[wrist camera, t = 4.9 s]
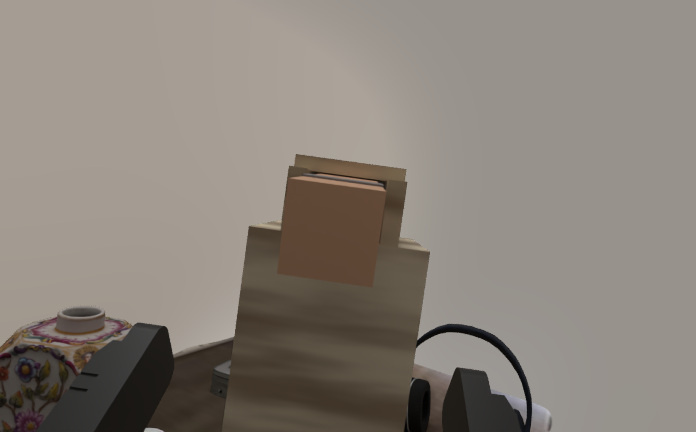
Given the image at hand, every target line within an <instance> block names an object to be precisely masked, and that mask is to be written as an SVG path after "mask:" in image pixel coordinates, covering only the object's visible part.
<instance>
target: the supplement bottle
mask: <svg viewBox="0 0 696 432" xmlns="http://www.w3.org/2000/svg"><path fill="white" fill-rule="evenodd" d="M144 432H163V431H162V430H159V429H155V428H146V429H145V431H144Z"/></svg>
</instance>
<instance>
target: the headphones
mask: <svg viewBox="0 0 696 432" xmlns="http://www.w3.org/2000/svg"><path fill="white" fill-rule="evenodd" d="M446 332H457V333H458V332H459V333H464V334H469V335H472V336H475V337H478V338H481V339H483V340H485V341H487V342H490V343H491V344H492V345H494V346H495V347H496V348H498V349H499V350H500V351H501V352H502V353H503V354H504V355H505V357H506V358H507V359H508V360H509V361H510V363H511V364H512V366H513V367H514V369H515V370H516V372H517V373H518V375H519V378H520V380H521V382H522V385H523V389H524V393H525V396H526V401H527V419H526V424H525V426H524V422H523V418H522V416H521V414H520V412H519V411H518V410H516V409H513V410H514V411H515V413H516V414H517V417H518V421H519V425H520V429H521V432H530V427H531V418H532V401H531V394H530V390H529V386H528V382H527V379H526V377H525V374H524V372H523V370H522V368H521V366H520V364H519V362H518V360H517V358H516V357H515V356H514V354H513V353H512V352H511V350H510V349H509V348H508V347H507V346H506V345H505V344H504V343H503V342H502V341H501V340H499V339H498V338H497V337H496V336H495V335H493V334H491V333H488V332H486V331H484V330H481V329H478V328H475V327H472V326H467V325H460V324H447V325H443V326H440V327H437V328H435V329H433V330H431V331H429V332H427V333H426V334H424V335H423V336H422V337H421V338H420V339H419V340H417V344H416V348H417V347H418V346H419V345H420V344H421V343H422V342H424V341H425V340H427V339H429V338H431V337H433V336H435V335H438V334H441V333H446ZM429 416H430V385H429V382H428V381H426V380H422V379H417V378H412V379H411V385H410V392H409V399H408V406H407V413H406V420H405V427H404V431H407V432H424V431H425V430H426V428H427V425H428V422H429Z"/></svg>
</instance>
